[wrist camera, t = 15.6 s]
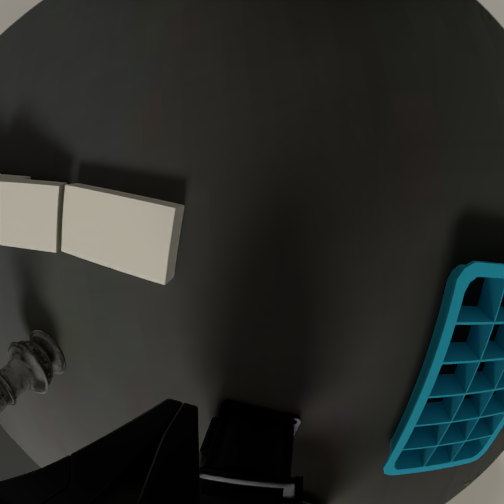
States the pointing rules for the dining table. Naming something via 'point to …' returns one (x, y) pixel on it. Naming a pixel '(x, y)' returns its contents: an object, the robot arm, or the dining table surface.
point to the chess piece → (30, 367)
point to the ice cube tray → (456, 381)
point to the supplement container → (309, 500)
